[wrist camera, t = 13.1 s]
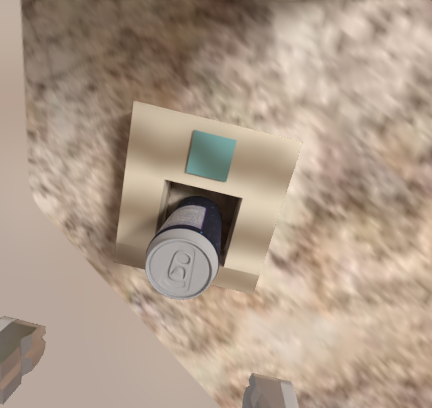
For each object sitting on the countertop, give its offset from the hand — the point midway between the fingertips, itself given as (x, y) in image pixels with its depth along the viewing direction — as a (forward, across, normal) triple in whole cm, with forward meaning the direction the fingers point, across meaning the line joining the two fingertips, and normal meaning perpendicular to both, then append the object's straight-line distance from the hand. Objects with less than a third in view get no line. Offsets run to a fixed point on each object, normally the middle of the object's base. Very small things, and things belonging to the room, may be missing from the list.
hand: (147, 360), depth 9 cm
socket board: (+19, 0, -1) cm, 19 cm away
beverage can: (+20, 0, +1) cm, 20 cm away
